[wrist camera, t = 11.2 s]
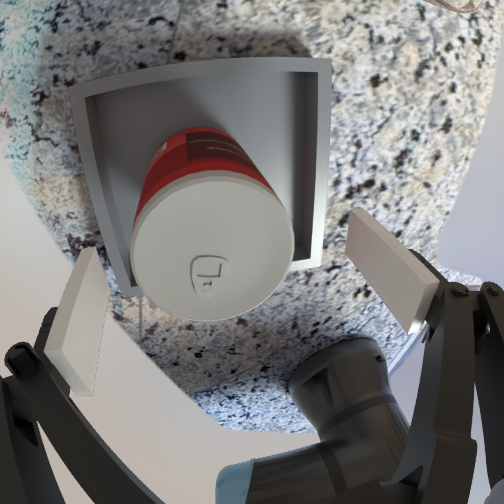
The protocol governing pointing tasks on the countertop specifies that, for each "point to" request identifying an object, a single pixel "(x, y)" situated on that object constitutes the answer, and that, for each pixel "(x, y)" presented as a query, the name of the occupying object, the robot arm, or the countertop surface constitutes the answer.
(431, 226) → the countertop surface
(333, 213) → the countertop surface
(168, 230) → the canned food
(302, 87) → the tray
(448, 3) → the pottery
